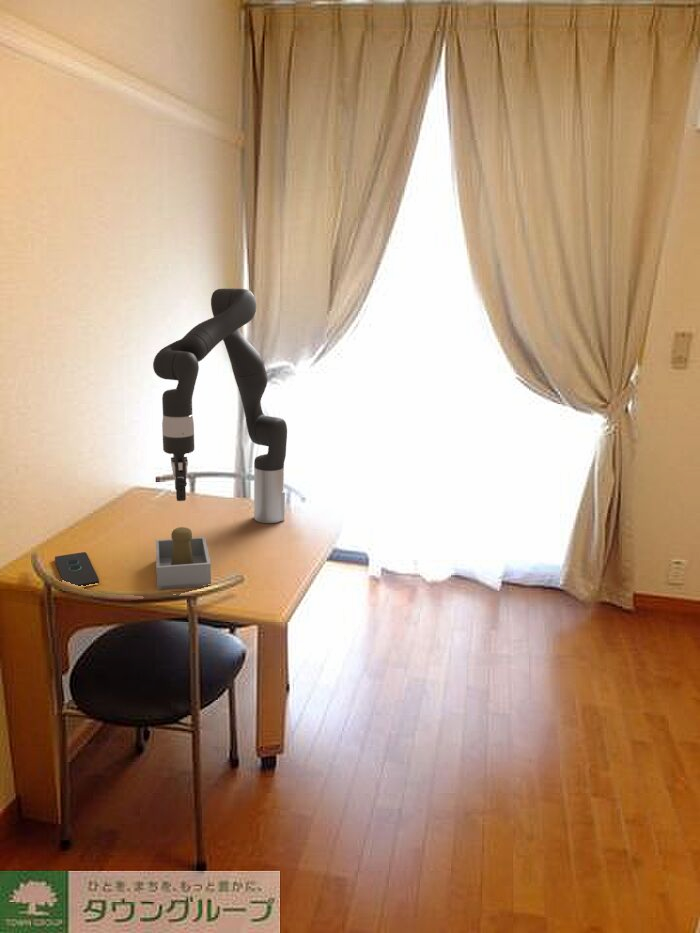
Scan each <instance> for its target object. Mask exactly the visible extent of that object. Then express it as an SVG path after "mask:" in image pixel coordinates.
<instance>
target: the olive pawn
mask: <svg viewBox="0 0 700 933" xmlns="http://www.w3.org/2000/svg"><path fill="white" fill-rule="evenodd" d="M192 538H193V533H192V530H191V529H190V528H189V527H186V526H181V527H177V528H173V530H172V531H171V539H172V540H173V541H174V545H173V554H172V563H171V565H182V564H194V562H193V556H192V550H191V544H190V540H191V539H192Z"/></svg>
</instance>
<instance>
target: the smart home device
mask: <svg viewBox="0 0 700 933" xmlns="http://www.w3.org/2000/svg"><path fill="white" fill-rule="evenodd" d="M55 561H56V563H55V565H56V564H57V566H56V568H57V567H58V569H57V571H58V570H59V572H58V574H59V573H60V575H59V577H60V576H61V577H60V579H61V578H62V580H64V581H66V582H70V583H71V584H75V585H78V586H81V585H83V586H86V585H89V584H95V583H99V584H100V579H99V577H98V575H97V572H96V571H95V568H94V566H93V564H92V562H91V559H90V558H89V555H88V554H87V552H86V551H84V552H83V551H81V552H76V553H75V552H74V553H70V554H64V555H55V557H54V562H55Z"/></svg>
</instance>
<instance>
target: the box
mask: <svg viewBox="0 0 700 933" xmlns="http://www.w3.org/2000/svg"><path fill="white" fill-rule="evenodd" d="M190 544H191V550H192V556H193V562H194V564H182V565H171V563H172V554H173V545H174V541H173V540H172V538H169V539H167V538H166V539H156V540H155V565H156V566H155V568H156V569H155V570H156V590H157V591H161V590H162V591H165V590H174V589H175V590H176V589H186V588H201V587H204V586H203V585H208V584H211V585H212V573H211V572H212V571H211V570H212V568H211V565H212V564H211V560H210V554H209V549H208V545H207V540H206V536H201V537H192V539H191V540H190ZM200 586H201V587H200Z"/></svg>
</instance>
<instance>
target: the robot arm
mask: <svg viewBox="0 0 700 933" xmlns="http://www.w3.org/2000/svg"><path fill="white" fill-rule="evenodd" d="M210 307H211V312H212V316H213V317H210V318H209V319H207V320H204V321H202V322H200V323H198V324H196V325H195V326H194V327H193V328H191V329H190V330H189V331H188V332H187V333H186V334H185V335H184V336H183V337H182V338H181V339H179V340H178V339H177V340H176V341H173V342H171V343H170V344H168V345H166V346H164V347H163V348H161V349H160V350H159V351H158V352H157V353H156V355H155V357H154V359H153V362H152V363H153V364H152V368H153V371H154V373H155V375H156V376H157V377H159V378H161V379H164V380H170V381H177V385H176V388H171V389H167V390H165V391H164V392H163V394H162V398H161V399H162V402H161V403H162V422H161V425H162V426H161V427H162V429H161V430H162V450H163V452H164V453H166V454H169V455H172V454H173V456H172V457H170V464H171V465H170V466H171V471H172V477H173V479H174V489H175V491H176V492H175V494H176V498H175V499H176V501H177V502H183V501H184V502H185V501H186V500H187V495H186V494H187V493H186V492H187V491H186V490H187V489H186V487H187V484H188V483H187V478H188V466H189V462H188V456H185V455H186V454H191V453H193V452H194V451H195V424H194V416H193V396H194V395H193V394H194V391H195V386H196V382H197V380H198V379H197V378H198V375H199V370H200V368H199V362H201V361H202V360H203V359H205V358H206V356H208V355H209V354H210V352H211V351H212V350H213V349H214V348H215V347H216V346H217V345H218V344H220V343H221V342H222V341H223V343H224V345H225V349H226V353H227V356H228V358H229V362H230V364H231V370H232V373H233V376H234V380H235V384H236V386H237V389H238V392H239V396H240V399H241V403H242V407H243V411H244V412H243V413H244V417H245V422H246V428H247V433H248V436H249V439H250V441H252V443H253V444H255V445H259V446H264V447H268V448H267V449H268V450H267V453H265V454H261V455H258V456H256V457H255V458H254V461H253V462H254V463H253V464H254V465H253V467H254V468H253V469H254V471H253V473H254V476H253V480H254V481H253V482H254V483H253V485H254V487H253V490H254V492H253V493H254V494H253V497H254V498H253V505H254V506H253V508H254V509H253V510H254V511H253V514H254V516H253V519H254V521H256V522H258V523H261V524H262V523H263V524H275V523H280V522H284V521H285V515H286V514H285V513H286V510H285V508H286V507H285V506H286V502H285V501H286V492H285V490H284V489H285V488H284V486H285V485H284V480H285V479H284V478H285V477H284V476H285V474H284V473H285V472H284V471H285V460H286V456H287V441H288V427H287V423H286V421H285V419H283V418H280V417H276V416H270V415H269V416H268V415H265V413H263V409H262V403H261V402H262V397H263V395H264V393H265V391H266V387H267V385H268V374H267V370H266V366H265V362H264V360H263V357H262V355H261V354H260V353H259V351H258V350H256V348H255V347H254V346H253V345H252V344H251V343H250V341H248V340H247V339H246V337H245V336H244V335H243V334H242V331H241V330H240V328H242V327H244V326H245V325H247V324H248V323H249V322H251V321H252V319H254V317H255V314H256V311H257V300H256V297H255V295H254V294H253V292H252V291H251V290H249V289H247V288H217V289H215V290H214V291H213V292H212V294H211V298H210Z"/></svg>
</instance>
